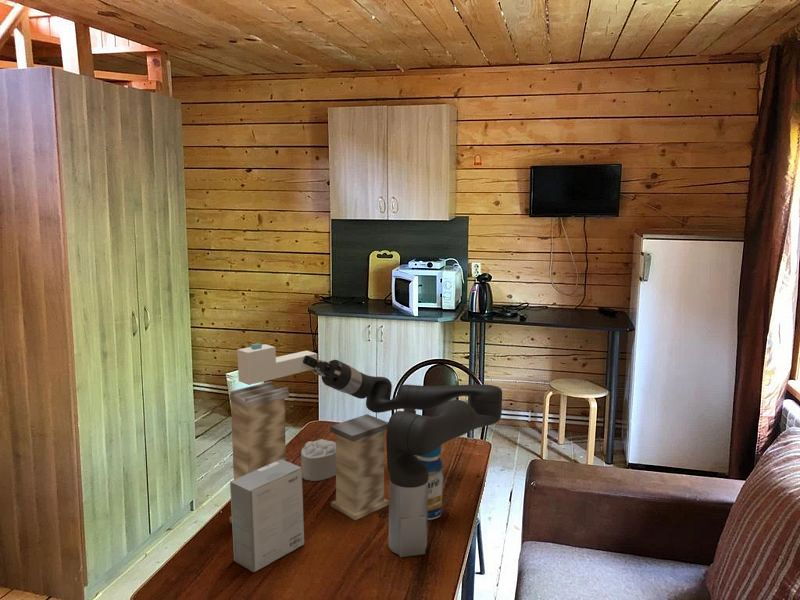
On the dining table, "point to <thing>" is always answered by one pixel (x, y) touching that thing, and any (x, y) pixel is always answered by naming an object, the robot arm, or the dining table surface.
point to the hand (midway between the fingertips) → (298, 357)
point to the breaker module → (269, 363)
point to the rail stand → (257, 427)
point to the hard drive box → (267, 514)
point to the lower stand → (359, 466)
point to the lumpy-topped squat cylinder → (318, 460)
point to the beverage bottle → (434, 482)
